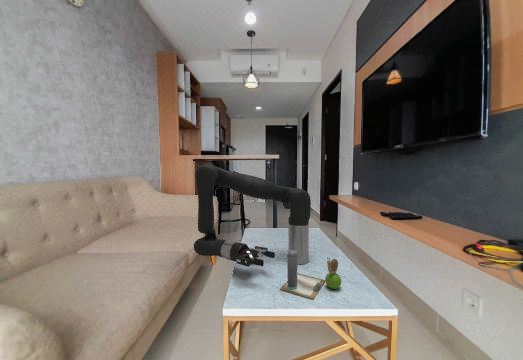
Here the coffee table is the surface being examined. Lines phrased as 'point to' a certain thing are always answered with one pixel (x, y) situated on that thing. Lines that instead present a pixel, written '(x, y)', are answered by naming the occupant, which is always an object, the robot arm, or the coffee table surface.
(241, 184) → the robot arm
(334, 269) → the snail figurine
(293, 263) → the cylinder
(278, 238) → the coffee table surface
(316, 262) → the coffee table surface
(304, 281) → the clipboard
